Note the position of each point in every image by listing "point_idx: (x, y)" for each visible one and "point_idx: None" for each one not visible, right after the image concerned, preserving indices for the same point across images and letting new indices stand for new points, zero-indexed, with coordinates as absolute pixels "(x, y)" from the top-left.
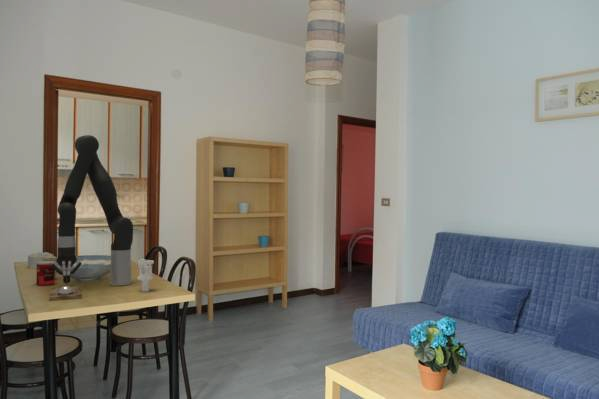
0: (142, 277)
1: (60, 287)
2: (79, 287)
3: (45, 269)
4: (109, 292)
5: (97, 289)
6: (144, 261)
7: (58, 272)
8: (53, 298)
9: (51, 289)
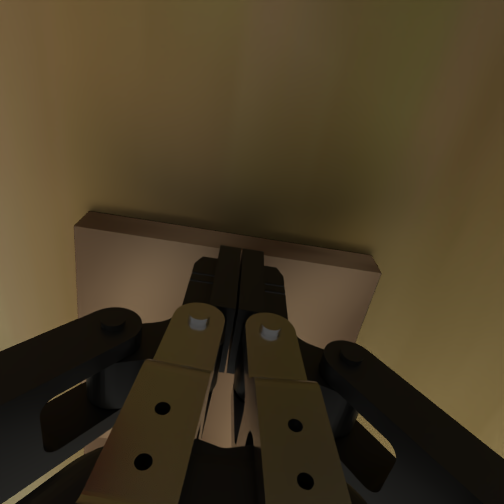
0: None
1: (173, 242)
2: (348, 330)
3: None
4: (500, 455)
5: (496, 327)
6: None
7: (76, 412)
8: None
9: (82, 301)
